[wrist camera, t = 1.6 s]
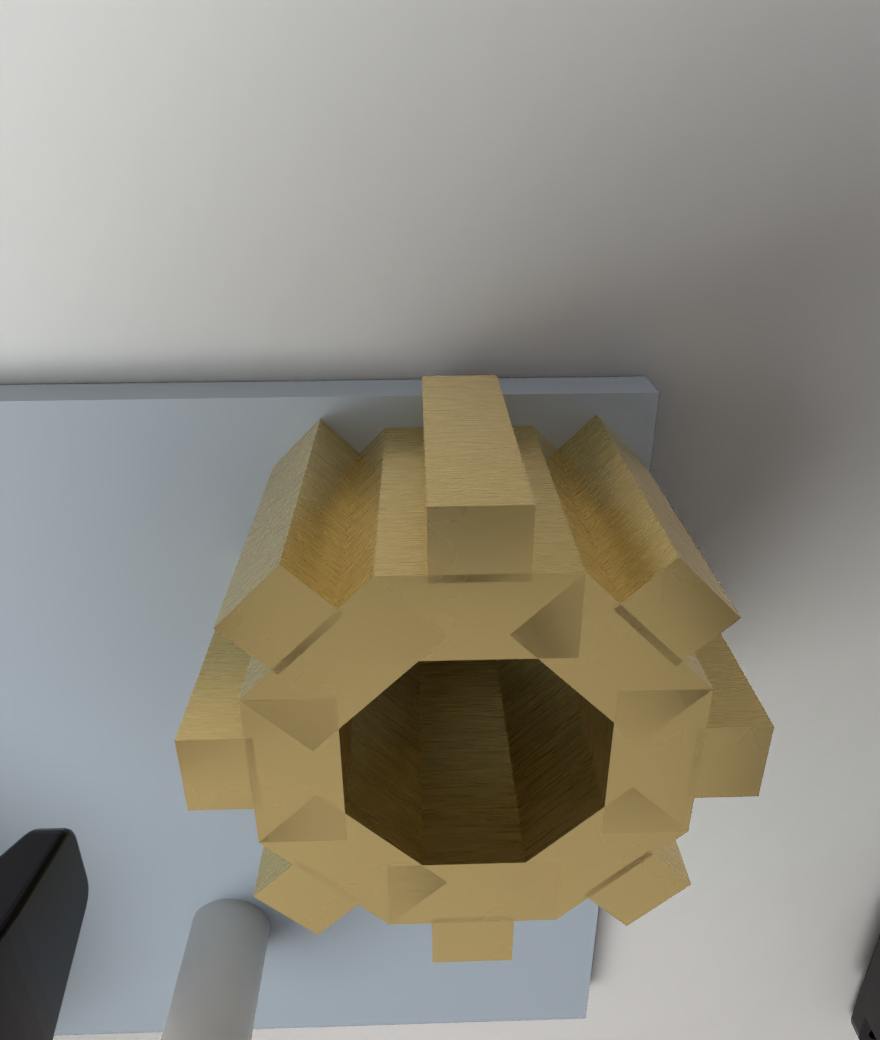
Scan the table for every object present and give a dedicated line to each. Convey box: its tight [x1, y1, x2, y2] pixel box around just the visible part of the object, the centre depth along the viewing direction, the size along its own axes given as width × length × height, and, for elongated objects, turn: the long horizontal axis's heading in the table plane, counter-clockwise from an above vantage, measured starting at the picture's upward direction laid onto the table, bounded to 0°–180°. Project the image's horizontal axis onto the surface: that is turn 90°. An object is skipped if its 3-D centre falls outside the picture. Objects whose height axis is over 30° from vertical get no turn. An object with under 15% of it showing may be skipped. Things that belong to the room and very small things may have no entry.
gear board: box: [0, 376, 659, 1040], centre depth 14 cm, size 20×15×6 cm
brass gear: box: [175, 375, 774, 962], centre depth 12 cm, size 7×7×4 cm
